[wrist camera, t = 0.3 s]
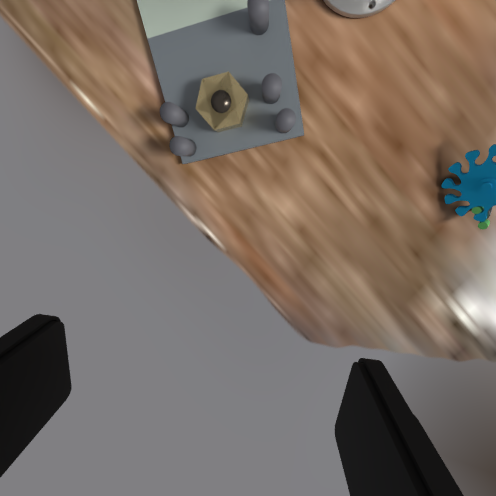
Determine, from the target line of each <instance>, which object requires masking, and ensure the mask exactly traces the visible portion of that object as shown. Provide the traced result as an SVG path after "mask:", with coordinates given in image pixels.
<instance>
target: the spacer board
mask: <svg viewBox="0 0 496 496" xmlns="http://www.w3.org/2000/svg"><path fill="white" fill-rule="evenodd" d="M137 3H138V7H139V10H140V14H141V17H142V21H143V25H144V28H145V32H146V35H147V39H148V42H149V46H150V49H151V53H152V57H153V60H154V64H155V67H156V71H157V74H158V78H159V82H160V85H161V89H162V92H163V96H164V99H165V103H163V104H162V106H161V108H160V116H161V118H162V119H163V120H164V121H165V122H167V123H170V124H172V128H173V131H174V135H175V137H173V138H172V139H171V141H170V150H171V151H172V153H173V154H175V155H177V156H181V160H182V163H183V164H187V163H191V162H195V161H200V160H204V159H208V158H212V157H216V156H220V155H225V154H229V153H233V152H237V151H241V150H245V149H250V148H254V147H258V146H262V145H266V144H270V143H275V142H279V141H283V140H287V139H291V138H295V137H300V136H303V135H304V130H303V123H302V116H301V109H300V102H299V96H298V89H297V82H296V75H295V68H294V61H293V54H292V47H291V40H290V33H289V27H288V20H287V13H286V6H285V0H137ZM228 71H229V72H230V73H231V75H232V76H233V77H234V78H235V80H236V81H237V82H238V83H239V84H240V86H241V87H242V88H243V89H244V91H245V92H246V93H247V94H248V97H249V103H248V106H247V110H246V114H245V117H244V121H243V124H242V127H238V128H234V129H230V130H226V131H222V132H216V131H215V130H214V129H213V128H212V127H211V126H210V125H209V124H208V122H207V121H206V120H205V119H204V118H203V117H202V116H201V114H200V113H199V112H198V111H197V110H196V109H195V108H196V104H197V99H198V95H199V90H200V86H201V81H202V79H204V78H207V77H211V76H214V75H218V74H221V73H225V72H228Z"/></svg>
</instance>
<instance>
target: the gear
mask: <svg viewBox="0 0 496 496" xmlns="http://www.w3.org/2000/svg"><path fill="white" fill-rule="evenodd" d="M479 154H480V152H479V150H474V151H470V152H468V153H466V155H465V157H466V159H467V160H468V162H469V165H470V167H469V172H468V173H462V172H461V167H462V165H461V163H459V162H457V163H455V164H453V165H452V166H451V167H450V168H448V170H449V171H450V172H451V173H454V174H456V175H457V176H458V177H459V178H460V180H461V184H459V185H456V184H455V183H454V182H453V180H452V179H451V178H447V179H445V180H444V182H443V183H442V186H441V187H442V188H445V189H447V188H452V189H456V190H458V191H460V192H461V193H462V195H461V196H455V195H454V194H447V195H446V196H445V203H446V204H451V203H453V202H455V201H468V202H469V203H470V205H469V206H459V207H458V208H457V209H456V210H455V211H456V213H457V214H458V215H459V216H463V215H465V214H466V213H467V211H468V210H470V209H471V208H473V209H472V213H474V214H475V216H474V219H475V220H477V221H480V223H479V224H478V227H479V228H480V229H486V228H487V227H488V225H489V224H490V221H489V220H487V218H489V216H490V215H491V211H492V207H493V206H494V205H496V162H493V161H492V158H493V157H494V156H496V144H494V145H492V146H491V147H490V148H489V155H488V158H487V160H486V161H485V162H484V163H483V164H481V165H477V164H475V160H476V158H477V157H478V156H479Z"/></svg>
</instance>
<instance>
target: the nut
mask: <svg viewBox="0 0 496 496" xmlns="http://www.w3.org/2000/svg"><path fill="white" fill-rule="evenodd" d="M248 103H249V97H248V94H247V93H246V92H245V91H244V89H243V88H242V87H241V86H240V84H239V83H238V82H237V81H236V80H235V78H234V77H233V76H232V75H231V73H230V72H229V71H228V72H225V73H221V74H218V75H214V76H211V77H207V78H204V79H202V81H201V86H200V90H199V95H198V99H197V104H196V108H195V109H196V110H197V111H198V112H199V113H200V114H201V116H202V117H203V118H204V119H205V120H206V121H207V122H208V124H209V125H210V126H211V127H212V128H213V129H214V130H215V131H216V132H222V131H226V130H230V129H234V128H238V127H242V124H243V121H244V117H245V114H246V110H247V106H248Z"/></svg>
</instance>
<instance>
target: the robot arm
mask: <svg viewBox="0 0 496 496" xmlns="http://www.w3.org/2000/svg"><path fill="white" fill-rule="evenodd" d="M323 1H324V2H325V4H326V5H327V6H328V7H330V8H331V9H332V10H333V11H334V12H336V13H338V14H340V15H342V16H346V17H350V18H364V17H368V16H372V15H375V14H377V13H379V12H381V11H383V10H384V9H386V8H387V7H389V6H390V5H391V4H392V3H393V2H394V1H396V0H323ZM369 6H370V7H371V9H370V8H369ZM70 391H71V379H70V370H69V362H68V354H67V345H66V337H65V329H64V324H63V323H62V322H61V321H60V319H59V318H58V317H56V316H49V315H42V314H37V315H34V316H32V317H31V318H29V319H28V320H26V321H25V322H23V323H22V324H20V325H19V326H17V327H16V328H14V329H12V330H11V331H9V332H8V333H6V334H5V335H3V336H2V337H1V338H0V477H1V476H2V475H3V474H4V473H5V471H6V470H7V469H8V468H9V466H10V465H11V464H12V463H13V462H14V461H15V460H16V458H17V457H18V456H19V455H20V453H21V452H22V451H23V450H24V449H25V448H26V446H27V445H28V444H29V443H30V442H31V441H32V439H33V438H34V437H35V436H36V435H37V434H38V432H39V431H40V430H41V429H42V428H43V426H44V425H45V424H46V423H47V422H48V421H49V420H50V418H51V417H52V416H53V415H54V413H55V412H56V411H57V410H58V409H59V408H60V407H61V405H62V404H63V403H64V402H65V401H66V399H67V398H68V396H69V394H70ZM335 437H336V442H337V446H338V450H339V453H340V457H341V461H342V465H343V469H344V473H345V477H346V481H347V484H348V489H349V492H350V496H463V494H462V492H461V491H460V489H459V487H458V485H457V484H456V482H455V481H454V479H453V477H452V476H451V474H450V472H449V470H448V469H447V467H446V466H445V464H444V462H443V460H442V459H441V457H440V456H439V454H438V453H437V451H436V449H435V447H434V446H433V444H432V442H431V440H430V439H429V438H428V436H427V434H426V432H425V430H424V429H423V427H422V425H421V424H420V423H419V421H418V419H417V418H416V417H415V416H414V415H413V413H412V412H411V410H410V408H409V407H408V405H407V403H406V402H405V400H404V398H403V397H402V395H401V393H400V392H399V390H398V389H397V386H396V385H395V383H394V381H393V380H392V378H391V376H390V375H389V373H388V371H387V369H386V368H385V366H384V365H383V363H382V362H381V361H379V360H372V359H365V358H360V359H359V361H358V362H354V363H353V365H352V368H351V372H350V375H349V379H348V382H347V385H346V389H345V392H344V396H343V399H342V403H341V406H340V410H339V413H338V417H337V420H336V424H335Z"/></svg>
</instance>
